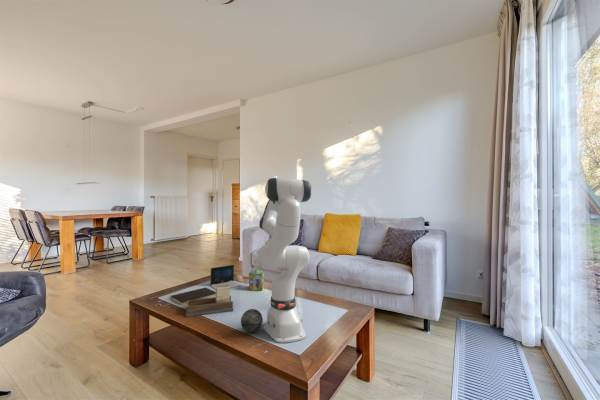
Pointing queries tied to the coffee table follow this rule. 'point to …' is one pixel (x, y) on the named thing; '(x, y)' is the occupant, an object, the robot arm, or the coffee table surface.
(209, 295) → the hardcover book
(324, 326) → the coffee table surface
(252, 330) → the decorative stone
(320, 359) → the coffee table surface
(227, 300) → the block
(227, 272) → the laptop
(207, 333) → the coffee table surface
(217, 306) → the chute
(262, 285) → the chalk box
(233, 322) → the coffee table surface
